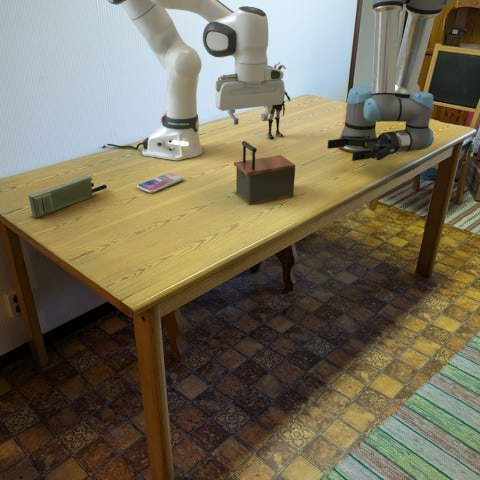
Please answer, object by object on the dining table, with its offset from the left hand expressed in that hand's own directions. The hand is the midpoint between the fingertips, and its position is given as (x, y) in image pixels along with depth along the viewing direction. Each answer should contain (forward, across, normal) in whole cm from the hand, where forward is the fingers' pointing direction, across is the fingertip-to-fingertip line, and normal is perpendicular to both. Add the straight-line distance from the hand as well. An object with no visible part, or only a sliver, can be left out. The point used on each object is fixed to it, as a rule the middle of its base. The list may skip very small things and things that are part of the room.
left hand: (249, 122), depth 145 cm
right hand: (+12, +32, -1) cm, 35 cm away
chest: (+24, +6, 0) cm, 24 cm away
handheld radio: (+24, -50, +18) cm, 58 cm away
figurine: (+24, +36, +50) cm, 66 cm away
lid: (+14, +5, 0) cm, 15 cm away
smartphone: (+24, -22, +21) cm, 38 cm away
